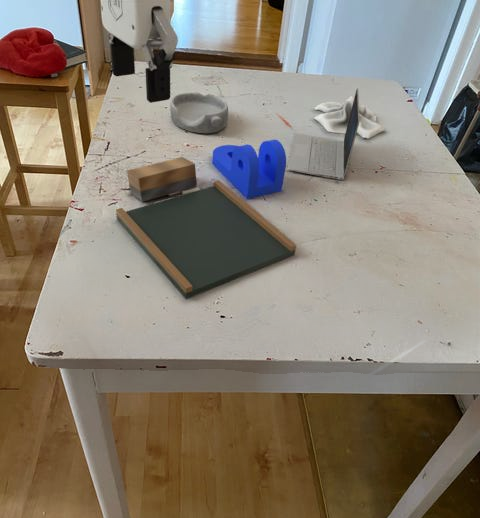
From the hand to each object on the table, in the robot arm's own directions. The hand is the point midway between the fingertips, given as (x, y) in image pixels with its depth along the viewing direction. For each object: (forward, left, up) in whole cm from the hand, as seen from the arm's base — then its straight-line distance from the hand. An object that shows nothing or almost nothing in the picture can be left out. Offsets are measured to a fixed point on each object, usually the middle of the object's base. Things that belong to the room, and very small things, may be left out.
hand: (140, 87), depth 64 cm
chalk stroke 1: (+8, +8, -25) cm, 28 cm away
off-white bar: (+14, +9, -25) cm, 30 cm away
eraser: (+9, +12, -25) cm, 29 cm away
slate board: (+8, -4, -25) cm, 27 cm away
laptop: (+47, +9, -25) cm, 54 cm away
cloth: (+69, +21, -25) cm, 77 cm away
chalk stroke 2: (+12, +11, -25) cm, 29 cm away
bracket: (+28, +11, -25) cm, 39 cm away
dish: (+32, +36, -25) cm, 54 cm away
